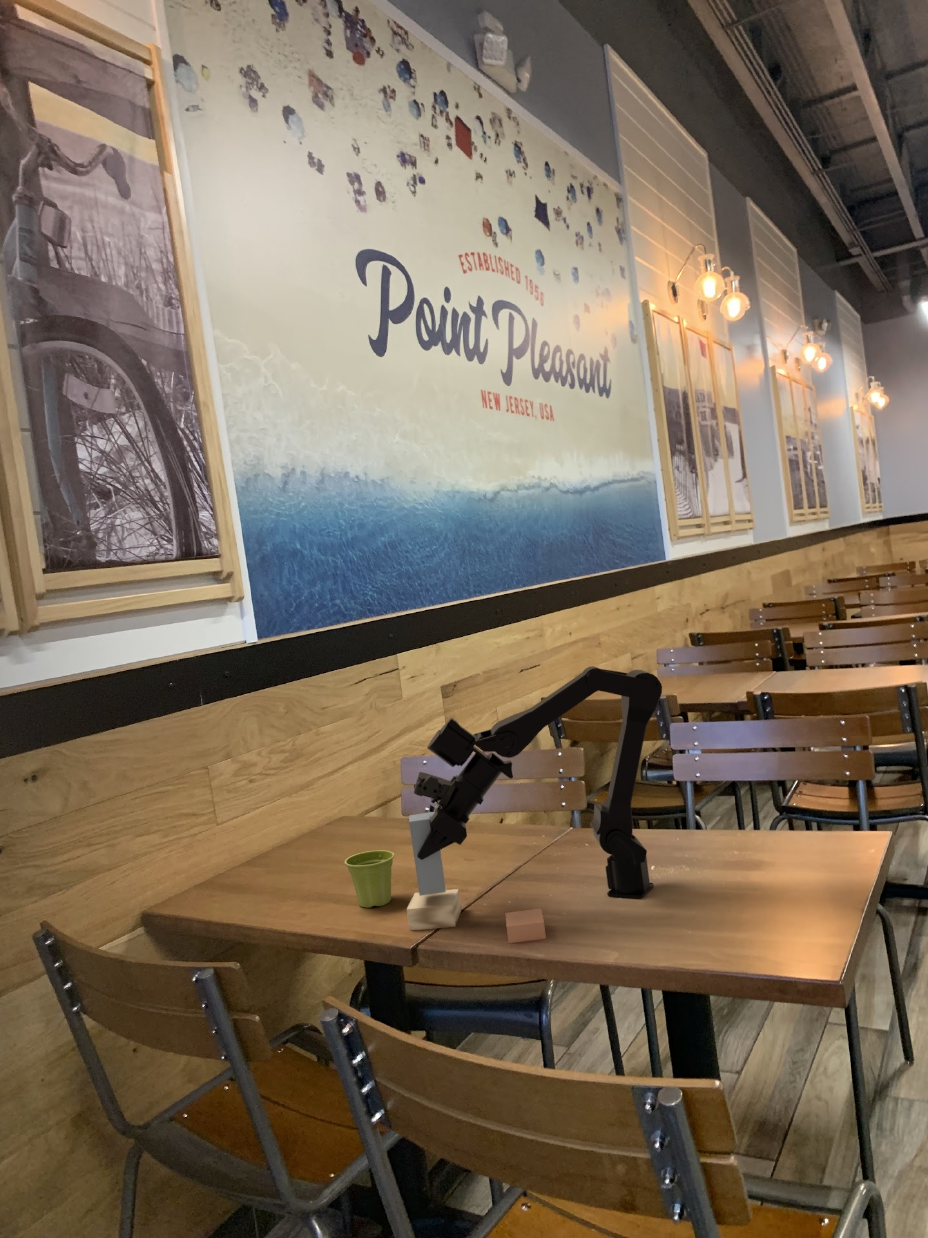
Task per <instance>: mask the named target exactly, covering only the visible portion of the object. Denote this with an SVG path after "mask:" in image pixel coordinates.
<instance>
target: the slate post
mask: <svg viewBox="0 0 928 1238" xmlns="http://www.w3.org/2000/svg"><path fill="white" fill-rule="evenodd" d="M434 813H435V812H430V811H429V812H424V813H417V814H410V815H409V819H408V824H409V831H410V838H411V846H412V853H413V858H414V867H415V873H416V880H417V886H418V892H419V895H420V896H421V895H428V894H435V893H442V892H445V890H446V881H445V873H444V865H443V859H442V849H441V850H439V851H437V852H436V853H434V854H432V855H430V856H428V857H427V858H425V859H423V860H421V859H420V858H418V857H417V855H418V853H419V851H420V849H421V847H422V845H423V843H424V841H425V839H426V838H427V836H428V834H429V832H430V830H431V829H430V823H429V817H431V818H432V816H433V814H434Z"/></svg>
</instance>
